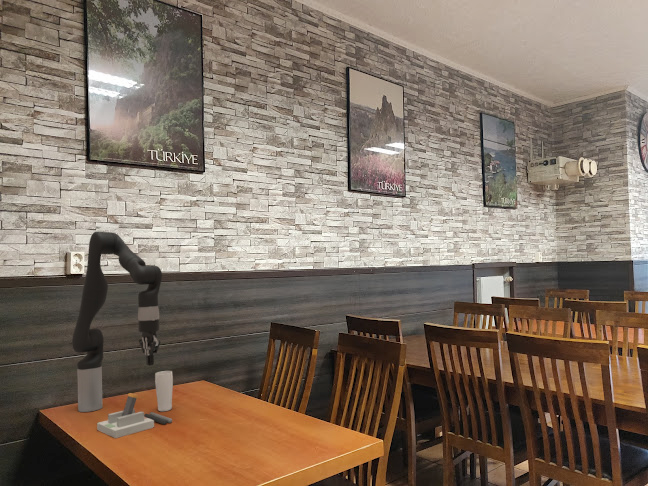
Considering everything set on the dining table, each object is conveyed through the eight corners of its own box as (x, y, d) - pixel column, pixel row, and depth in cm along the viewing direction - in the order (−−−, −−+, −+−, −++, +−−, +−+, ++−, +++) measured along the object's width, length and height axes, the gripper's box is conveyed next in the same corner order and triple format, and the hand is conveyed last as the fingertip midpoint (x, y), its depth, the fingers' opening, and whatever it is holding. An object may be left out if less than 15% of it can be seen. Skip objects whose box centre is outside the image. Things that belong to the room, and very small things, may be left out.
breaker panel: (97, 429, 176) (96, 414, 177) (134, 420, 186) (134, 405, 187) (115, 438, 166) (115, 421, 166) (154, 427, 176) (153, 411, 176)
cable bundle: (143, 418, 189) (143, 413, 189) (152, 415, 191) (152, 411, 191) (163, 425, 178) (163, 420, 178) (173, 422, 181) (172, 418, 181)
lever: (120, 417, 177) (127, 392, 180) (124, 418, 178) (132, 393, 181) (126, 420, 174) (134, 394, 176) (131, 420, 175) (138, 395, 178)
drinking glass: (168, 412, 195) (167, 374, 196) (152, 412, 196) (151, 374, 197) (176, 407, 201) (175, 370, 202) (161, 407, 203) (160, 370, 204)
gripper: (131, 319, 187) (132, 365, 186) (147, 320, 178) (148, 368, 177) (149, 317, 192) (151, 361, 191) (166, 318, 183) (168, 365, 182)
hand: (150, 365), depth 184 cm, fingers closed
